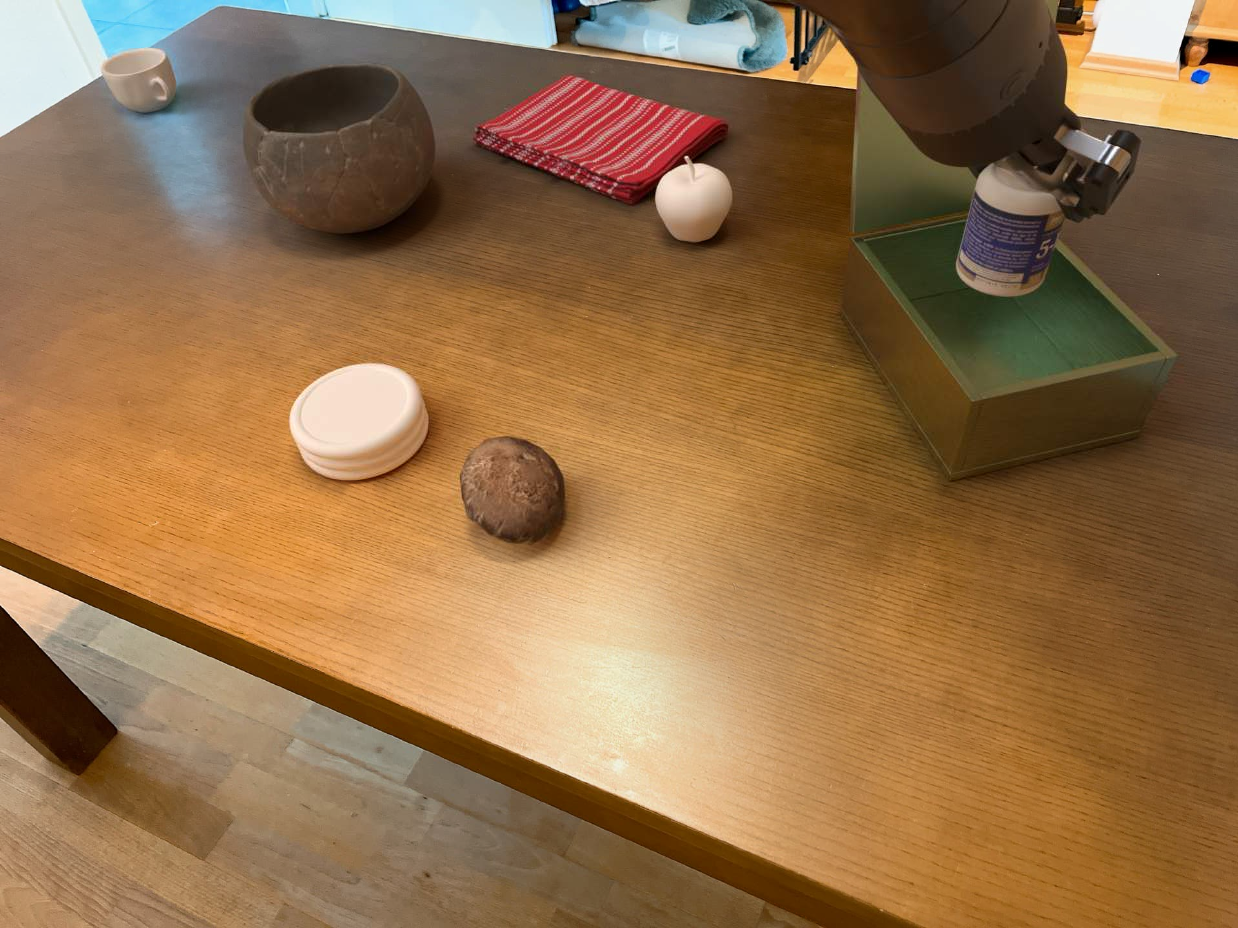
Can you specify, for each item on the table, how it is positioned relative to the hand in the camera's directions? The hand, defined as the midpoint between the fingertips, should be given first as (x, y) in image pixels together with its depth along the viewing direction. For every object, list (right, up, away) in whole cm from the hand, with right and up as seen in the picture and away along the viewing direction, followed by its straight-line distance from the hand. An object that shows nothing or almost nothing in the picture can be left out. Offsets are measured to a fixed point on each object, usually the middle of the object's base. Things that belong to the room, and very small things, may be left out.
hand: (1038, 186), depth 54 cm
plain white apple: (-18, +6, +34) cm, 38 cm away
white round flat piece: (-44, -14, +18) cm, 50 cm away
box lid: (-1, +11, +12) cm, 16 cm away
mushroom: (-32, -20, +11) cm, 39 cm away
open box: (+3, -9, +18) cm, 20 cm away
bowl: (-51, +9, +40) cm, 66 cm away
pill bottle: (-1, -5, +3) cm, 6 cm away
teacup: (-82, +28, +60) cm, 105 cm away
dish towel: (-27, +19, +47) cm, 57 cm away
